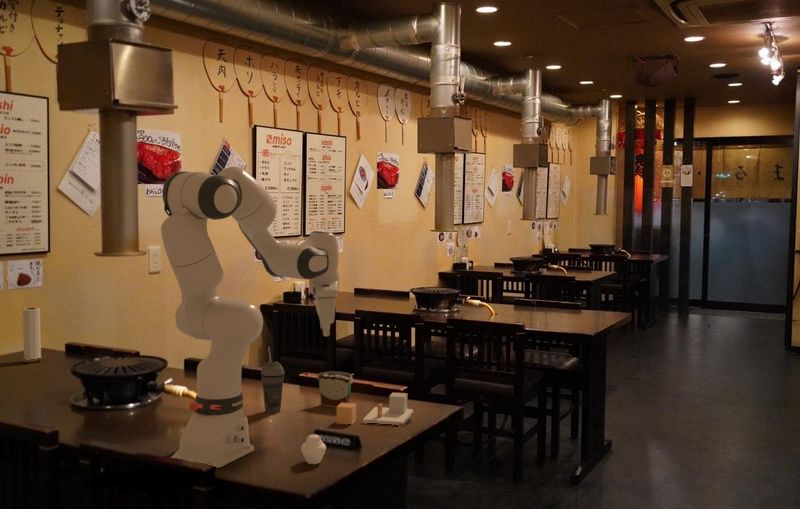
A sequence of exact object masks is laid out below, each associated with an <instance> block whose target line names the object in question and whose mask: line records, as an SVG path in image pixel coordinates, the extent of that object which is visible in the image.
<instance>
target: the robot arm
mask: <svg viewBox="0 0 800 509" xmlns="http://www.w3.org/2000/svg"><path fill="white" fill-rule="evenodd" d="M161 194H162V201H163V203H164V204H163V205H164V206H163V209H164V212H165V213H166V215H167V216H168V217H167V218H166V219H164V221H163V222H162V224H161V226H160V234H161V239H162V242H163V248H164V250H165V254H166V256H167V257H166V258H167V259H168V261H169V264H170V267H171V268H172V272H173V273H174V276H175V278H176V281H177V284H178V286H179V289H180V294H181V303H179V305H178V306H177V308H176V312H175V320H174V321H175V325H176V327H177V329H178V331H180V333H182V334H185V335H186V336H189V337H191V338H193V339H195V340H196V339H197V340H205V341H209V342H210V341H211V345H210V346H211V347H210V350H209V354H208V355H207V356H206V357H205V358H203V359H202V360H200V362H199V363H198V365H197V368H196V386H197V387H196V388H197V389H196V393H197V394H196V395H195V397H194V398H195V399H194V401H190V402H189V404H188V409H189V410H190V411H193V414H192V415H191V417H190V419H189V421H188V423H187V425H185V426H186V427H185V428H184V430H183V431H182V434H180V439H179V449H178V450H177V451H176V452H175V453H174V454H172V456H171V457H170V458H178V459H183V460H187V461H190V462H198V463H205V464H208V465H212V466H215V467H216V469H217V468H218V469H219V468H222V467H224V466H226V465H228V464H230V463H232V462H234V461H235V460H238V459H239V458H242V457H244V456H246V455H247V454H249V453H252V452H254V451H255V447H254V445H253V444H251V443H250V432H249V430H250V429H249V422H248V421H249V420H248V417H247V416H246V414H245V413H244V411H243V407H244V396H243V392H242V372H243V371H242V370H243V369H242V368H243V362H244V357H245V354H246V352H247V350H248V348H249V347H250V346H251V344H252V343H253V342H254V341H257V339H258V338H259V337H260V335H261V333H262V331H263V326H264V317H263V314H262V312H261V310H260V308H259V307H258V306H256V305H253V304H251V303H248V302H247V301H246V302H245V301H242V300H237V299H224V298H222V297H221V296H220V295H219V293H218V290H217V289H218V287H219V285H220V284H221V283H222V280H223V278H224V270H223V268H222V265H221V263H220V262H221V261H220V260H219V258H218V255H217V252H216V250H215V248H214V245H213V243H212V240H211V238H210V235H209V233H208V226H207V225H208V219H209V220H213V221H214V220H215V221H216V220H223V219H226V218H229V217H230V216H231V217H232V218H233V219H234V221H236V222H237V224H238V227H239V230H240V231H241V233H242V234H243V235H244V237H245V238H246V239H247V241H248V243H249V244H250V245H251V246H252V247H253V248H254V250H255V251H256V253H257V254H258V256H259V258H260V259H261V262H262V264H263V267H264V269H265V271H266V272H267V273H268V274H269V275H270V276H271V277H275V278H290V279H295V280H297V279H298V280H303V281H304V280H308V292H309V293H310V294H312V295H313V298H314V299H315V310H316V312H317V315H318V319H319V323H320V324H319V326H320V329H321V330H322V335H323V336H324V337H329V336H330V333H331V332H330V331H331V324H334V322H335V318H336V317H335V315H336V304H337V303H336V301H337V300H336V299H337V297H338V296H339V292H340V273H339V271H338V265H339V262H340V260H339V259H340V258H339V257H340V254H339V244H338V243H339V242H338V238H337V235H335V234H334V233H333V232H328V231H317V230H316V231H315V230H314V231H311V232H310V234H309V237H307V239H305V241H303V242H302V243H300V244H293V243H286V242H282V241H279V240H277V239H275V237H274V236H273V234H272V233H271V232H270V230H269V229H268V228H269V227H270V226H271V225H272V224H273V222H274V221H275V219H276V215H277V205H276V201H274V199H273V197H272V196H271V194H270V193H268V191H267V190H266V189H265V188H264V186H263V185H262V184H261V183H260V182H259V181H258V180H257V179H256V178H255V177H253V175H251V174H250V173H249V172H248V171H246V170H244V169H243V168H241V167H239V166H228V167H225V168H224V169H222V170H221V171H220V172H219V173H217V175H215V174H211V173H206V172H203V171H179V172H178V171H177V172H176V173H173V174H171V175H170V176H168V177H167V178H166V180H164V182H163V186H162V193H161Z"/></svg>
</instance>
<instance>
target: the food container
mask: <svg viewBox="0 0 800 509" xmlns="http://www.w3.org/2000/svg"><path fill="white" fill-rule="evenodd" d="M316 380H317V381H318V386H319V396H320V399H319V400H320V405H321V406H324V407H325V406H326V407H333V408H337V406H338V405H339V404H340V403H350V396H351V385H352V384H353V383H354V379H353V376H352V374H351V373H349V372H345V371H325V372H320V373H318V375H317V378H316Z"/></svg>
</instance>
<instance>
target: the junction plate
mask: <svg viewBox="0 0 800 509" xmlns="http://www.w3.org/2000/svg"><path fill="white" fill-rule="evenodd" d="M388 401H389V402H388V407H383V403H377V406H374V408H372V409H371V410H370V412H368V413H367V414H366V415H365V417H364V418H363V419H362V424H367V423H378V424H377V425H380V424H392V425H391V426H394V425H393V424H395V425H401V424H403V425H404V423H405V422H406V421H407V420H408V418H409V417H410V416H411V417H412V415H413V414H414V409H412V408H408V393H405V392H392V393H391V394H390V395H389V397H388ZM412 413H413V414H412ZM411 414H412V415H411ZM411 417H410V418H411ZM410 418H409V419H410ZM379 423H380V424H379Z"/></svg>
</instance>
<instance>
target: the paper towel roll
mask: <svg viewBox="0 0 800 509" xmlns="http://www.w3.org/2000/svg"><path fill="white" fill-rule="evenodd" d="M22 320H23V321H22V326H23V330H22V331H23V332H22V333H23V360H24V359H26V360H30V359H37V358H41V359H42V345H41V343H42V342H41V341H42V340H41V339H42V338H41V309H40V307H28V308H27V307H25V308H23V309H22Z"/></svg>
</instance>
